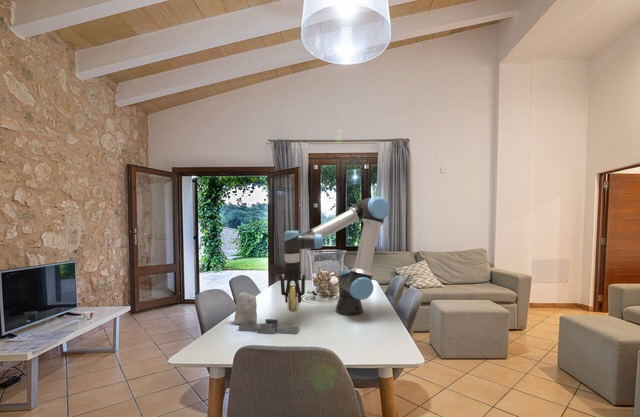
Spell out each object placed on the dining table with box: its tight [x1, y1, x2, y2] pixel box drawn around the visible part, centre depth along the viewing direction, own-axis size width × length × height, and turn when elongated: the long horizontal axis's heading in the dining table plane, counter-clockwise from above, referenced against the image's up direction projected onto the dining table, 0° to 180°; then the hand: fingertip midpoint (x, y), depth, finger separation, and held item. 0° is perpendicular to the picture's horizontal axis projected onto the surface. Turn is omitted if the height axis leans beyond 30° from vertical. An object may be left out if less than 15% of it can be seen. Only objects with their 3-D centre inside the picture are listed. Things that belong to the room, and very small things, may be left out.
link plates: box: [238, 318, 301, 335], centre depth 149 cm, size 28×8×4 cm, turn 80°
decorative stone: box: [233, 291, 258, 325], centre depth 159 cm, size 11×6×15 cm, turn 87°
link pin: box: [288, 284, 299, 313], centre depth 159 cm, size 4×4×12 cm
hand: (293, 309), depth 159 cm, fingers closed on link pin, 4 cm apart
